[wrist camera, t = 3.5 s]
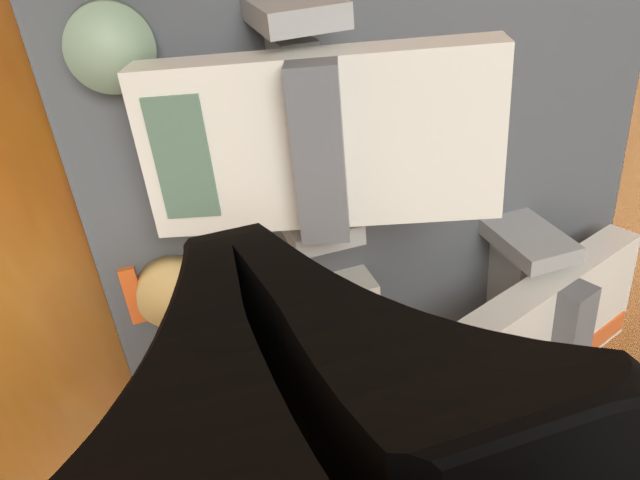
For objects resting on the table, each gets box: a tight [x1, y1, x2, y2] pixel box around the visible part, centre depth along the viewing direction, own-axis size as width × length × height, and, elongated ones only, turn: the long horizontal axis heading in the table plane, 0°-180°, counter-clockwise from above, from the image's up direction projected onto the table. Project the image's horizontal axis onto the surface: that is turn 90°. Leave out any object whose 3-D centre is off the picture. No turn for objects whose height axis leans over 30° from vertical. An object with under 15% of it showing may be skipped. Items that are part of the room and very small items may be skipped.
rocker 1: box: [117, 30, 515, 245], centre depth 15 cm, size 9×4×2 cm, turn 95°
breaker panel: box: [10, 0, 640, 376], centre depth 21 cm, size 19×23×4 cm
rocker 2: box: [457, 224, 640, 348], centre depth 21 cm, size 9×4×2 cm, turn 95°
